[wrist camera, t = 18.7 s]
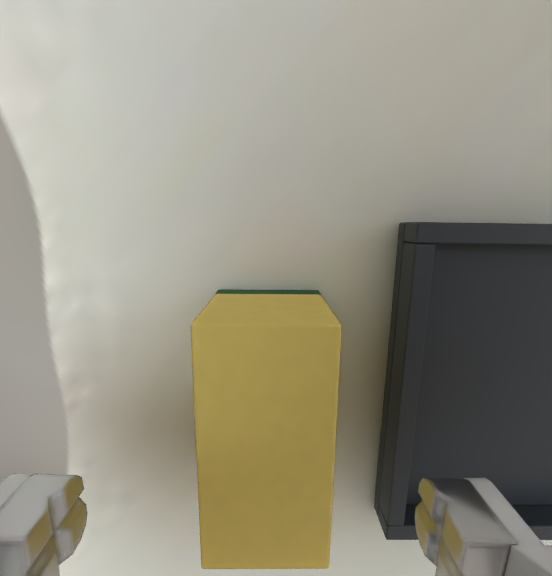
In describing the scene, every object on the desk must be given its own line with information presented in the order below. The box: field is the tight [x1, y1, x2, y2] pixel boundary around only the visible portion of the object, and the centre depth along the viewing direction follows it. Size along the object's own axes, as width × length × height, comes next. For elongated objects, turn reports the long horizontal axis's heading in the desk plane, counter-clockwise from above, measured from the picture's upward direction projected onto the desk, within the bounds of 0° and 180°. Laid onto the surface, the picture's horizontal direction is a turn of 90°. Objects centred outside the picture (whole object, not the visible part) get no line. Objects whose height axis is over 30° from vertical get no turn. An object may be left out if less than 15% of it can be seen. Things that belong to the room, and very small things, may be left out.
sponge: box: [191, 290, 342, 569], centre depth 13 cm, size 9×4×5 cm, turn 179°
